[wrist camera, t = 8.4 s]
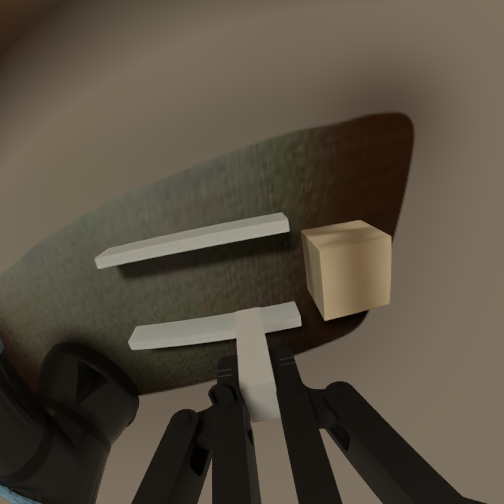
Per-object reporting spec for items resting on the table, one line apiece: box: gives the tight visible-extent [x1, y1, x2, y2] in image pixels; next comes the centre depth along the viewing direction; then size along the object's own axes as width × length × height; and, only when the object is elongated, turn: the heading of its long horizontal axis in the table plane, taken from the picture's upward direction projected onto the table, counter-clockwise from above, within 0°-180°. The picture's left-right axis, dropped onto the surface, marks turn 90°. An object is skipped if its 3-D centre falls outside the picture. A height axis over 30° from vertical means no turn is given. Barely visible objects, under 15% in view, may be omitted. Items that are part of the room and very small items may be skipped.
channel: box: [95, 213, 302, 350], centre depth 24 cm, size 17×10×3 cm, turn 100°
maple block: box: [301, 220, 391, 321], centre depth 23 cm, size 6×6×6 cm
